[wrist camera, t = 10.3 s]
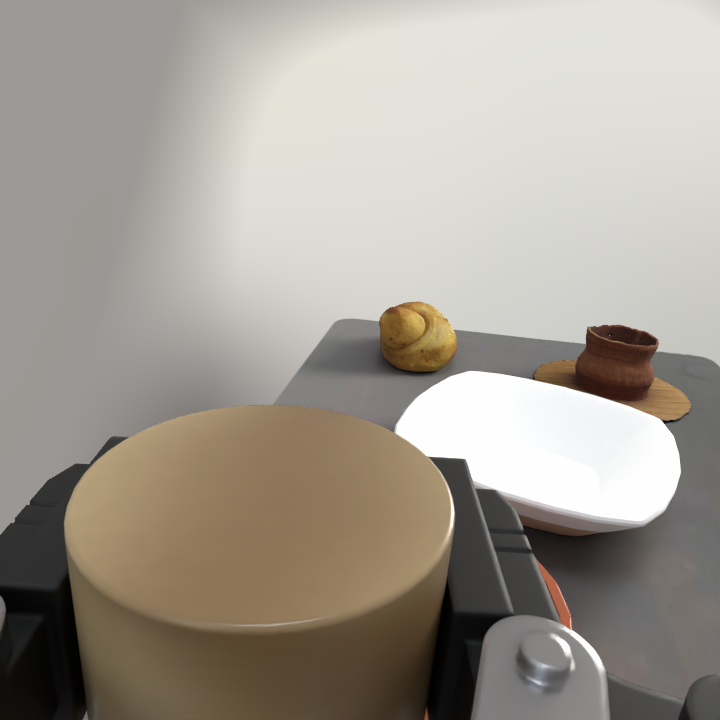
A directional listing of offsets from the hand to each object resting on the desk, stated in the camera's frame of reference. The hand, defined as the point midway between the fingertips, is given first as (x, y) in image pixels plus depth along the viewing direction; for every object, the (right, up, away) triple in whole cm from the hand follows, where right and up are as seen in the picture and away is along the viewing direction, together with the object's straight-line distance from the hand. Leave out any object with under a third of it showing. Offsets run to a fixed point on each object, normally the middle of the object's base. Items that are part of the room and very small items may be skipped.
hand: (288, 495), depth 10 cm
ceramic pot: (+31, -1, +62) cm, 70 cm away
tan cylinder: (-1, -10, +1) cm, 10 cm away
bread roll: (+8, +2, +67) cm, 68 cm away
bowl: (+16, -8, +41) cm, 45 cm away
